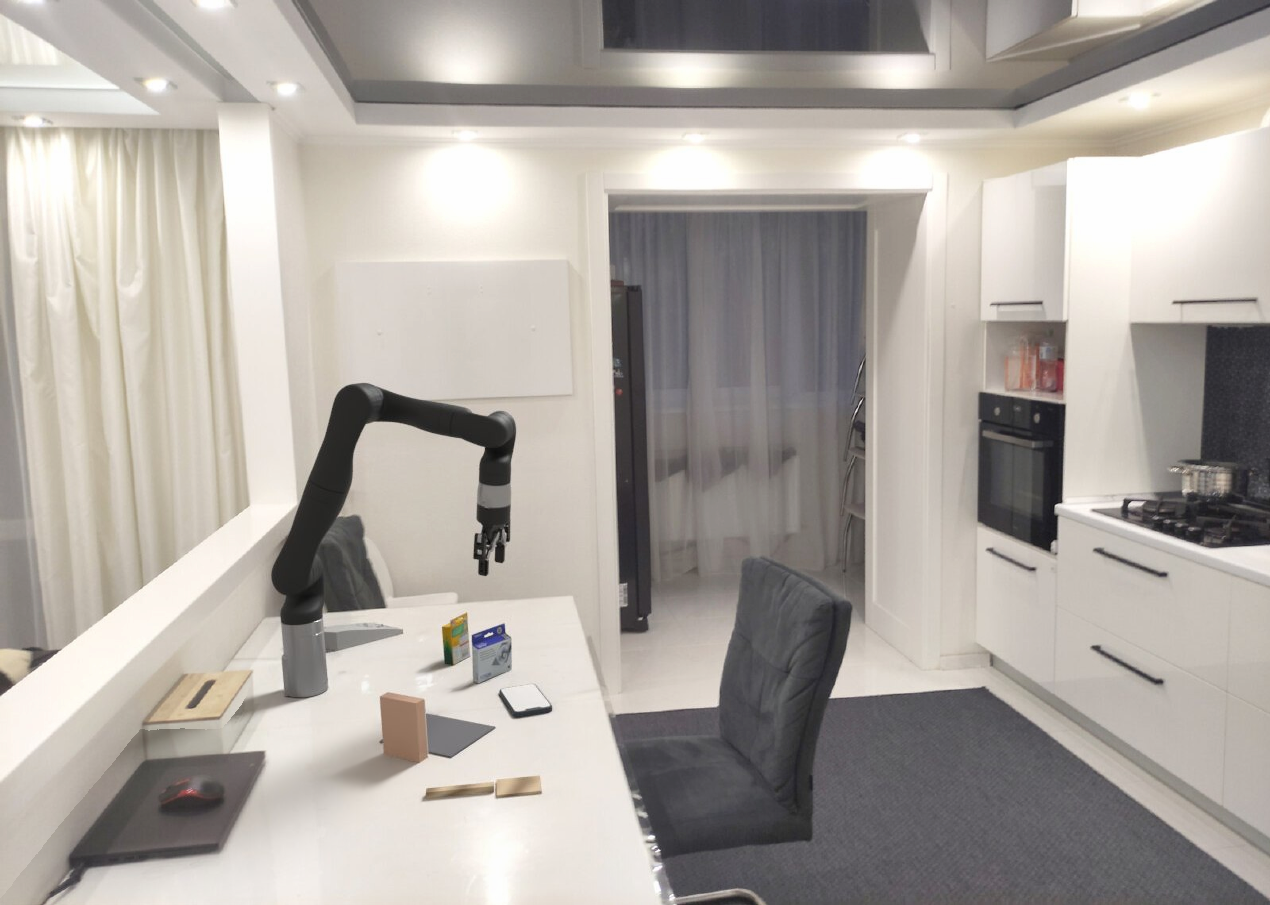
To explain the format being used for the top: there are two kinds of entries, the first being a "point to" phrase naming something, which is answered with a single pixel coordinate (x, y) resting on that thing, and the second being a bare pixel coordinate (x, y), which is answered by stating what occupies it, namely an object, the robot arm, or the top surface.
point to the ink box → (491, 653)
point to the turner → (491, 788)
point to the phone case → (525, 700)
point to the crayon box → (456, 640)
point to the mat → (452, 734)
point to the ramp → (356, 634)
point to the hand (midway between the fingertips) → (491, 568)
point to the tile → (404, 726)
